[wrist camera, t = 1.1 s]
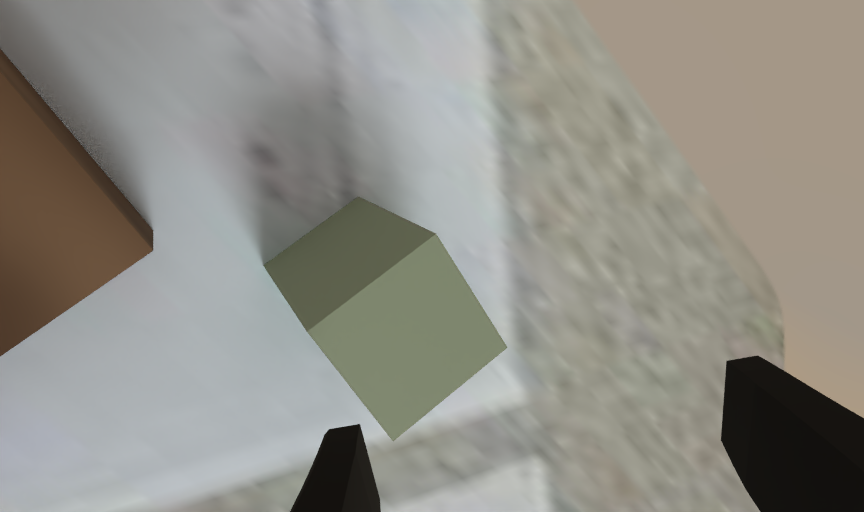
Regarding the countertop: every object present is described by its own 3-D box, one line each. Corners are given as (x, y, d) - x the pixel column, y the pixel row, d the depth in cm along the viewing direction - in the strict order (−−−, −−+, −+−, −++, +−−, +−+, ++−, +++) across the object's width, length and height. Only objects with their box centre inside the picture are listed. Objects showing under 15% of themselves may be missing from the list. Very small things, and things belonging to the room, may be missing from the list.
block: (329, 350, 24) (393, 441, 17) (263, 265, 22) (306, 331, 16) (416, 283, 25) (507, 347, 18) (358, 196, 23) (436, 233, 17)
